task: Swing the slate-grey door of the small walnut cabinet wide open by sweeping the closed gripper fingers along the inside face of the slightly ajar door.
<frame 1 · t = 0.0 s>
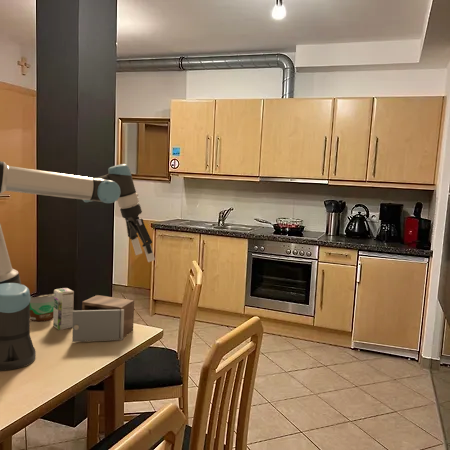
hand: (145, 257, 175), 28 cm above the table, tool tilted 20°, fingers open, 13 cm apart
syrup box: (63, 327, 173), on the table
cabinet: (107, 331, 171), on the table
door: (98, 325, 159), point 6 cm above the table, hinge at 30.0°
food container: (45, 320, 180), on the table
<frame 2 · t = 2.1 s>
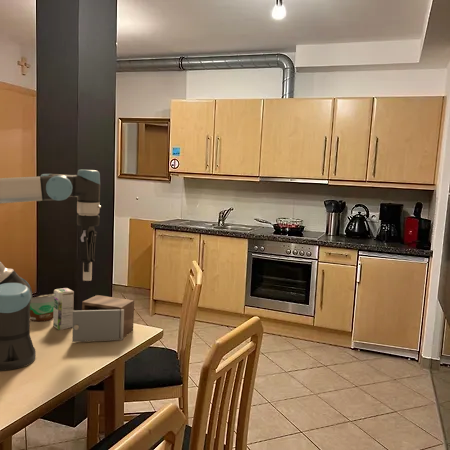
hand: (87, 280, 161), 22 cm above the table, tool pointing down, fingers closed
nothing on the table moved.
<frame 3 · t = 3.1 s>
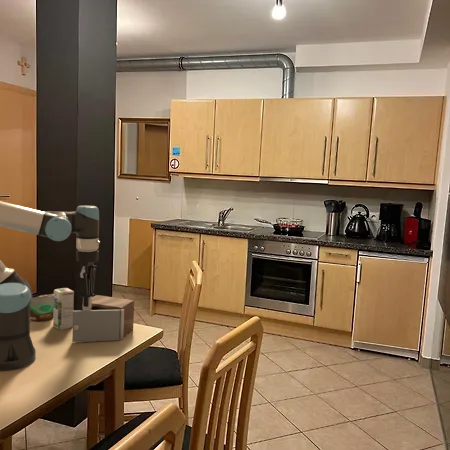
hand: (87, 314, 162), 9 cm above the table, tool pointing down, fingers closed
nothing on the table moved.
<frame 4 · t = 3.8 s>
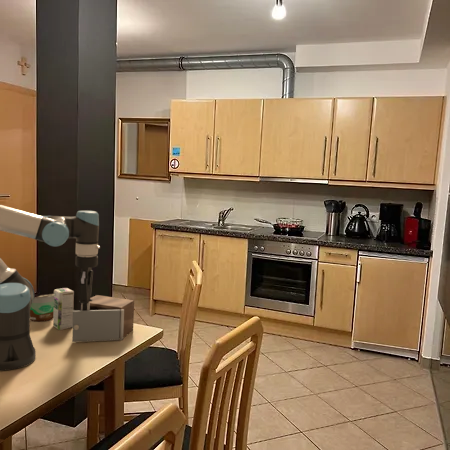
hand: (85, 319, 161), 7 cm above the table, tool pointing down, fingers closed
door: (98, 326, 159), point 6 cm above the table, hinge at 30.0°, touching gripper
everything else where it was.
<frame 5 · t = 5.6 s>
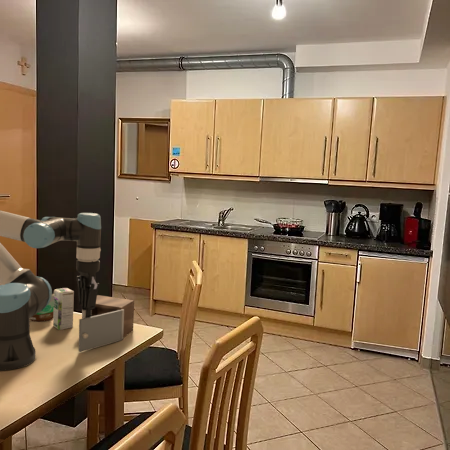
hand: (86, 327, 154), 7 cm above the table, tool pointing down, fingers closed
door: (103, 330, 156), point 6 cm above the table, hinge at 64.1°, touching gripper
everything else where it was.
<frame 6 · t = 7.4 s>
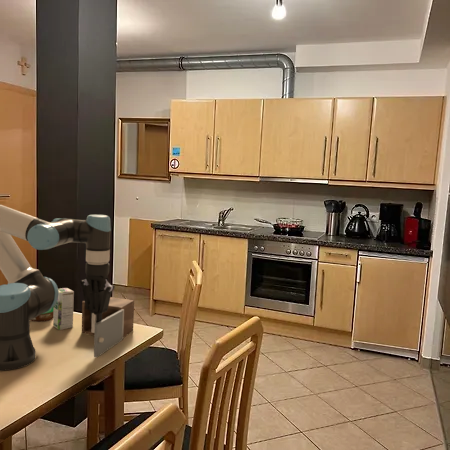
hand: (95, 331, 151), 7 cm above the table, tool pointing down, fingers closed
door: (111, 332, 154), point 6 cm above the table, hinge at 88.6°, touching gripper
everything else where it was.
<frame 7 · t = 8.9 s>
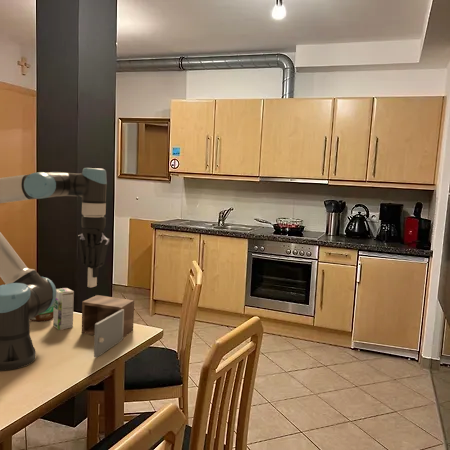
hand: (92, 286, 150), 22 cm above the table, tool pointing down, fingers closed
door: (111, 332, 154), point 6 cm above the table, hinge at 88.8°
everything else where it was.
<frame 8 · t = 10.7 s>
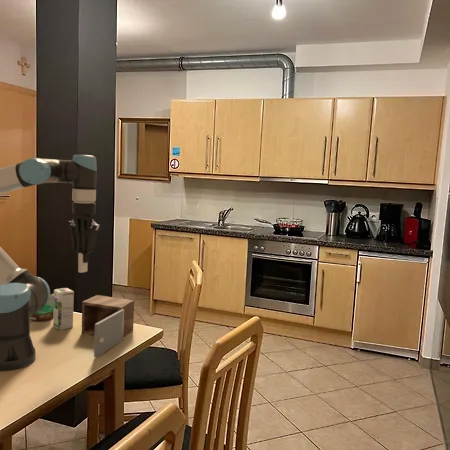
hand: (82, 271, 152), 26 cm above the table, tool pointing down, fingers closed
nothing on the table moved.
at the end: door at +89° (first picture: +30°) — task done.
